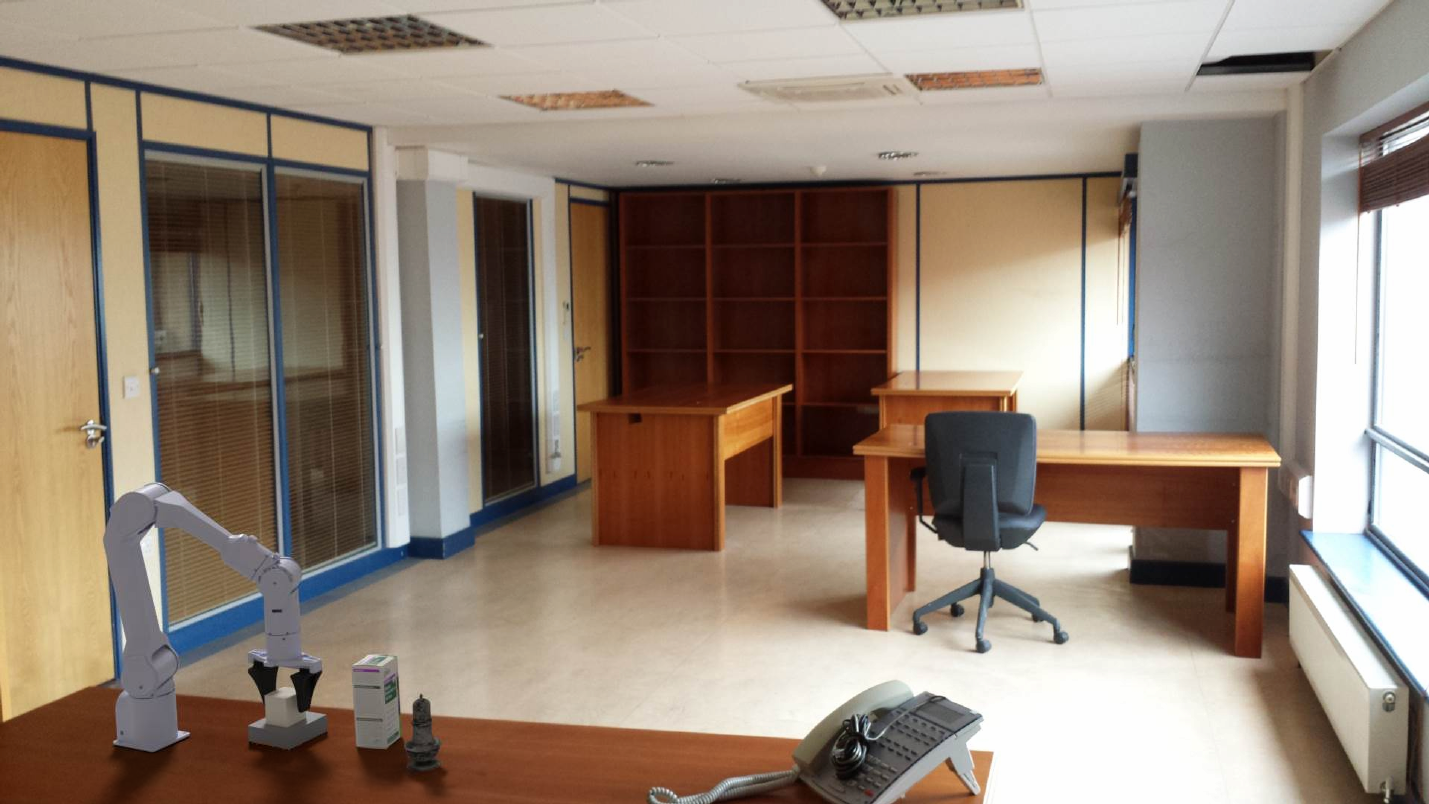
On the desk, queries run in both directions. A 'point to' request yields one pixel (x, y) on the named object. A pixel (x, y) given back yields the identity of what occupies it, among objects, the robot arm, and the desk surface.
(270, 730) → the block
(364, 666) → the syrup box
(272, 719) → the cream white cube
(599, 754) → the desk surface
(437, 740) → the salt shaker
